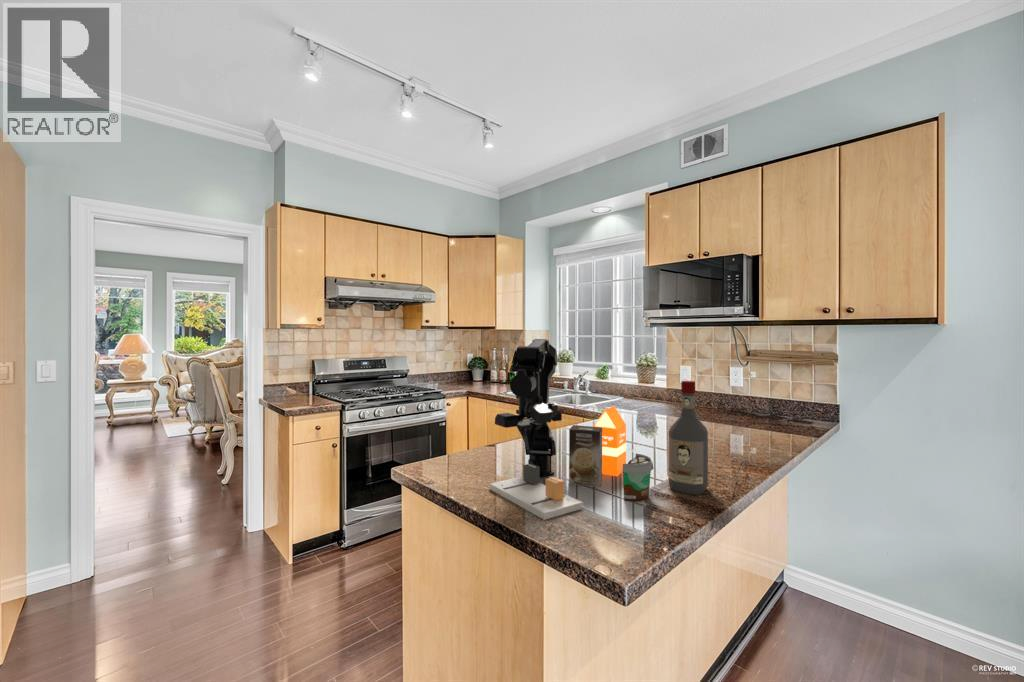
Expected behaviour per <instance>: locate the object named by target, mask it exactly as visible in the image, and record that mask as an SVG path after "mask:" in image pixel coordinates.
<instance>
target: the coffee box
mask: <svg viewBox="0 0 1024 682" xmlns="http://www.w3.org/2000/svg"><path fill="white" fill-rule="evenodd" d="M568 431H569V433H568V434H569V435H568V438H569V439H568V440H569V441H568V442H569V443H568V445H569V448H568V449H569V450H568V451H569V453H568V456H569V457H568V458H569V459H568V477H569V478H568V485H575V486H576V485H577V486H582V487H583V486H584V487H593V488H600V487H601V484H602V482H603V474H602V427H593V426H589V425H578V424H577V425H576V424H572V426H571V427H570V428H569V429H568Z"/></svg>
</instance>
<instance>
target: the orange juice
mask: <svg viewBox="0 0 1024 682" xmlns="http://www.w3.org/2000/svg"><path fill="white" fill-rule="evenodd" d="M592 427H602V475H604V476H605V475H606V476H612V477H618V476H619V475H621V474H623V472H622V466H623V463H624V464H627V423H626V422H625V421H624V419H623V418H622V416H621V414H620V412H618V410H617V408H616V406H611V407H609V408H606V409H604V411H603V412H602V414H601V415H600V416H599V418H598V419H597V420H596V422H595V423H594V424H593V426H592Z"/></svg>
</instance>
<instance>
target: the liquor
mask: <svg viewBox="0 0 1024 682" xmlns="http://www.w3.org/2000/svg"><path fill="white" fill-rule="evenodd" d="M680 390H681V391H680V392H681V412H680V416H679V417H677V419H676V421H675V422H673V424H672V425H671V426H670V428H669V430H668V486H669V488H670V489H671V490H673V491H674V492H677V493H683V494H686V495H687V494H688V495H692V496H694V495H695V496H696V495H703V493H705V492H706V489H707V488H708V486H709V471H708V469H709V465H708V464H709V456H708V455H709V450H708V449H709V431H708V429H707V427H706V426H705V425H704V424H703V422H701V420H700V419H699V418H698V417H697V416H696V415H697V414H696V409H695V407H696V406H695V403H696V402H695V401H696V400H695V398H696V397H695V393H696V381H695V380H694V381H692V380H681V389H680Z"/></svg>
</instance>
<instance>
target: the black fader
mask: <svg viewBox="0 0 1024 682" xmlns="http://www.w3.org/2000/svg"><path fill="white" fill-rule="evenodd" d="M522 466H523V467H522V468H523V469H522V470H523V471H522V473H523V475H522V476H523V481H525V482H527V483H529V484H536V483H541V481H540V479H541V477H540V467H539V466H536V465H534V464H528V463H526V464H522Z"/></svg>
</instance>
